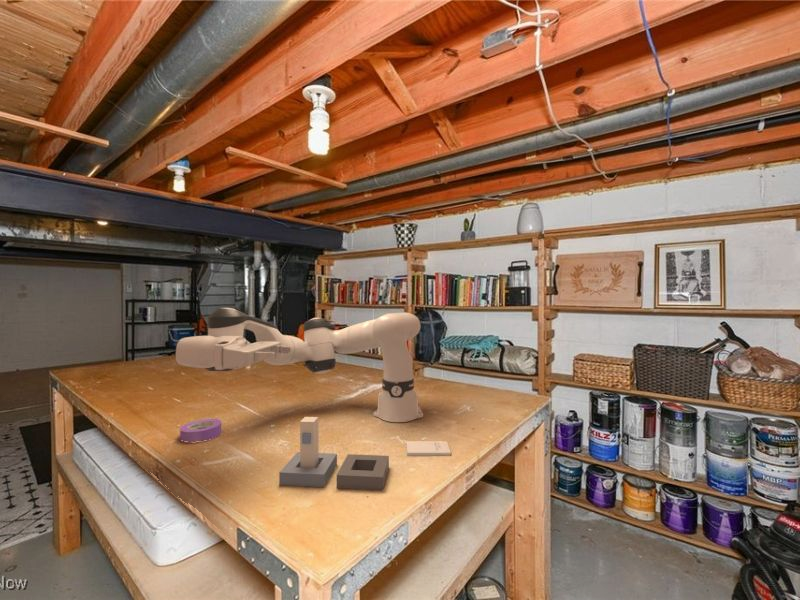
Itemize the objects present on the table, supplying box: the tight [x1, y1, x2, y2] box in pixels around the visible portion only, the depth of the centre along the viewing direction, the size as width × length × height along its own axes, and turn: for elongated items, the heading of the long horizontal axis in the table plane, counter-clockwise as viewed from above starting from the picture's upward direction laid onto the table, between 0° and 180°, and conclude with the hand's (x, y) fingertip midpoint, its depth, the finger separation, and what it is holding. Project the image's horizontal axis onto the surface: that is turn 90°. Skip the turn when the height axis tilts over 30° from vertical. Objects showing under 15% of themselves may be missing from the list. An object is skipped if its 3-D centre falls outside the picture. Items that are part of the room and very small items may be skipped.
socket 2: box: [336, 453, 390, 491], centre depth 87 cm, size 11×11×3 cm
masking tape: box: [179, 418, 223, 442], centre depth 114 cm, size 12×12×4 cm
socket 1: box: [278, 451, 338, 488], centre depth 89 cm, size 11×11×3 cm
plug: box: [299, 416, 319, 468], centre depth 88 cm, size 4×4×14 cm
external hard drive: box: [405, 440, 452, 457], centre depth 103 cm, size 2×8×12 cm
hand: (283, 352), depth 94 cm, fingers open, 8 cm apart
